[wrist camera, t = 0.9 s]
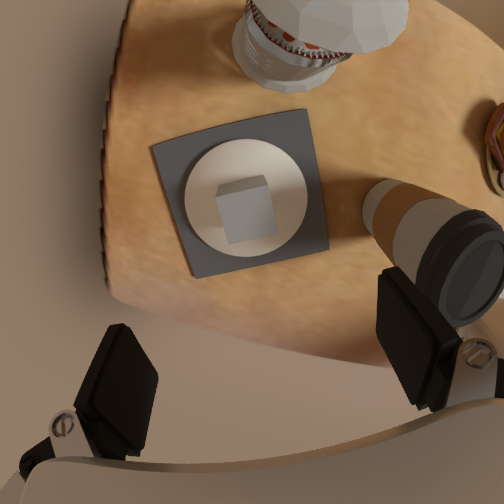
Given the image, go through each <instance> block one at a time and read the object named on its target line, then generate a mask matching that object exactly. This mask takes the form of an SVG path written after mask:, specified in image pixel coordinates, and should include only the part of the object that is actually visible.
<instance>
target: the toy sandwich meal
mask: <svg viewBox="0 0 504 504" xmlns="http://www.w3.org/2000/svg"><path fill="white" fill-rule="evenodd" d="M484 141H485V144H486V162H487V168H488V173H489V177H490V180H491V182H492V185H493V187H494V188H495V190H496V191H497V193H498V194H499V195H501V196H502V197H504V103H501V104H500V105H499V106H498V107H497V108H496V110H495V111H494V113H493V114H492V117H491V119H490V121H489V123H488V126H487V129H486V133H485V138H484Z"/></svg>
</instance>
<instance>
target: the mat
mask: <svg viewBox="0 0 504 504" xmlns="http://www.w3.org/2000/svg"><path fill="white" fill-rule="evenodd" d="M237 139H256V140H261V141H265V142H267V143H270V144H272V145H274V146H276V147H278V148H280V149H281V150H282V151H284V152H285V153H286V154H288V155H289V156H290V157H291V158H292V159H293V160H294V162H295V163H296V164H297V166H298V167H299V169H300V171H301V172H302V175H303V177H304V180H305V183H306V187H307V195H308V197H307V208H306V212H305V216H304V219H303V221H302V223H301V225H300V227H299V228H298V230H297V231H296V233H295V234H294V235H293V236H292V237H291V238H290V239H289V240H288V241H287V242H286V243H285V244H283V245H282V246H281V247H279V248H277V249H275V250H273V251H271V252H269V253H266V254H262V255H259V256H252V257H239V256H233V255H228V254H225V253H222V252H220V251H218V250H216V249H214V248H212V247H211V246H209V245H208V244H207V243H205V242H204V241H203V240H202V239H201V238H200V237H199V236H198V235H197V233H196V232H195V231H194V229H193V227H192V226H191V224H190V222H189V219H188V216H187V213H186V209H185V189H186V184H187V181H188V178H189V176H190V174H191V172H192V170H193V168H194V167H195V165H196V164H197V163H198V161H199V160H200V159H201V158H202V157H203V156H204V155H205V154H206V153H207V152H209V151H210V150H212V149H213V148H215V147H216V146H218V145H220V144H223V143H225V142H228V141H232V140H237ZM152 148H153V152H154V155H155V158H156V162H157V165H158V169H159V172H160V175H161V178H162V182H163V185H164V188H165V191H166V194H167V198H168V201H169V204H170V207H171V210H172V213H173V216H174V219H175V222H176V225H177V228H178V231H179V234H180V237H181V240H182V242H183V245H184V248H185V251H186V254H187V257H188V259H189V262H190V265H191V268H192V270H193V273H194V276H195V279H199V278H204V277H208V276H213V275H218V274H222V273H227V272H232V271H236V270H241V269H245V268H250V267H255V266H259V265H264V264H268V263H273V262H277V261H282V260H286V259H291V258H295V257H300V256H304V255H308V254H313V253H317V252H322V251H326V250H329V241H328V233H327V225H326V217H325V210H324V203H323V196H322V190H321V183H320V177H319V171H318V165H317V160H316V154H315V148H314V143H313V138H312V133H311V128H310V123H309V118H308V113H307V109H301V110H295V111H289V112H283V113H278V114H272V115H267V116H262V117H257V118H253V119H248V120H243V121H239V122H235V123H231V124H227V125H222V126H219V127H215V128H211V129H207V130H203V131H200V132H196V133H193V134H189V135H186V136H182V137H179V138H176V139H173V140H169V141H166V142H163V143H160V144H157V145H154V146H152Z"/></svg>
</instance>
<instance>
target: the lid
mask: <svg viewBox="0 0 504 504" xmlns="http://www.w3.org/2000/svg"><path fill="white" fill-rule="evenodd" d="M307 197H308V195H307V187H306V183H305V180H304V177H303V175H302V172H301V171H300V169H299V167H298V166H297V164H296V163H295V162H294V160H293V159H292V158H291V157H290V156H289V155H288V154H286V153H285V152H284V151H282V150H281V149H280V148H278V147H276V146H274V145H272V144H270V143H267V142H265V141H261V140H256V139H237V140H232V141H228V142H225V143H223V144H220V145H218V146H216V147H215V148H213V149H212V150H210V151H209V152H207V153H206V154H205V155H204V156H203V157H202V158H201V159H200V160H199V161H198V163H197V164H196V165H195V167H194V168H193V170H192V172H191V174H190V176H189V178H188V181H187V184H186V189H185V209H186V213H187V216H188V219H189V222H190V224H191V226H192V227H193V229H194V231H195V232H196V233H197V235H198V236H199V237H200V238H201V239H202V240H203V241H204V242H205V243H207V244H208V245H209V246H211V247H212V248H214V249H216V250H218V251H220V252H222V253H225V254H228V255H233V256H239V257H252V256H259V255H262V254H266V253H269V252H271V251H273V250H275V249H277V248H279V247H281V246H282V245H283V244H285V243H286V242H287V241H288V240H289V239H290V238H291V237H292V236H293V235H294V234H295V233H296V231H297V230H298V228H299V227H300V225H301V223H302V221H303V219H304V216H305V212H306V208H307Z"/></svg>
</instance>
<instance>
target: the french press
mask: <svg viewBox="0 0 504 504" xmlns="http://www.w3.org/2000/svg"><path fill="white" fill-rule="evenodd" d="M248 1H249V0H247V1H246V5H245V9H244V14H243V17H242V18H241V19H240V20H239V21H238V22H237V23H236V26H235V29H234V33H233V36H232V40H231V43H232V48H233V54H234V59H235V61H236V62H237V64H238V65H239V66H240V68H241V69H242V71H243V72H244V74H245V75H246V76H247V77H248V78H250V79H252V80H253V81H255V82H256V83H257V84H259V85H260V86H262V87H263V88H266V89H270V90H274V91H278V92H282V93H295V92H306V91H308V90H310V89H312V88H315V87H317V86H319V85H321V84H323V83H324V82H325V81H326V80H327V79H328V78H329V76H330V75H331V74H332V73H333V72H334V70H335V69H336V66H337V64H339V63H341V62H343V61H345V60H347V59H349V58H350V56H351V55H352V54H353V53H358V54H366V53H369V52H372V51H375V50H377V49H380V48H383V47H386V46H389V45H391V44H392V42H393V41H394V40H395V39H396V38H397V37H398V36H399V35H400V33H401V32H402V31H403V30H404V29H405V26H406V21H407V15H408V9H409V4H408V0H250V3H249V4H248V5H247V3H248ZM250 5H251V7H250V8H249V9H248V7H249V6H250ZM246 7H247V8H246ZM247 9H248V11H247ZM245 11H246V12H245ZM345 54H346V55H345ZM344 55H345V56H344ZM340 56H342V57H343V56H344V57H343V58H342V57H341V58H342V59H341V58H340V59H341V60H340V59H339V57H340ZM338 59H339V60H340V61H339V60H338ZM338 61H339V62H338ZM337 62H338V63H337Z"/></svg>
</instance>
